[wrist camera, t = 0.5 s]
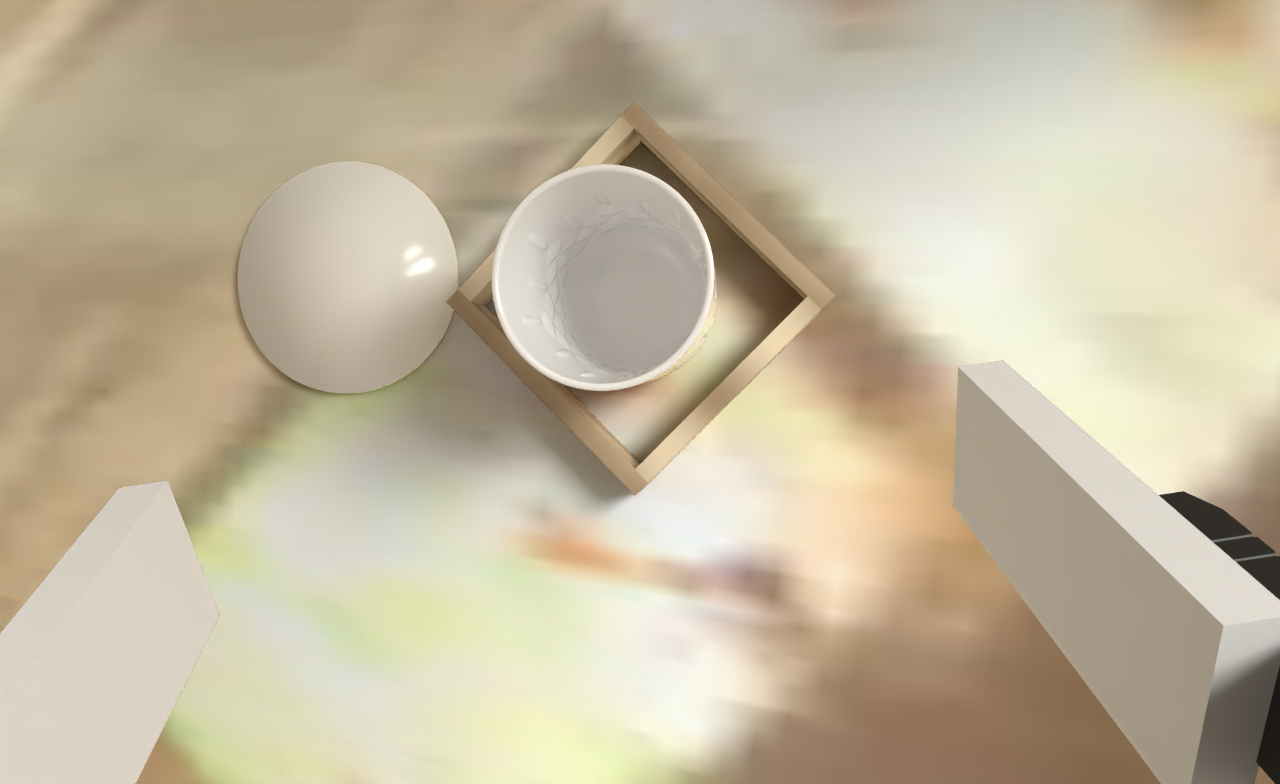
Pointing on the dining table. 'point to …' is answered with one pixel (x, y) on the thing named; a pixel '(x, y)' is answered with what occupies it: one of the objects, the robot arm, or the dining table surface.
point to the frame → (816, 297)
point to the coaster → (347, 277)
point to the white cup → (604, 278)
